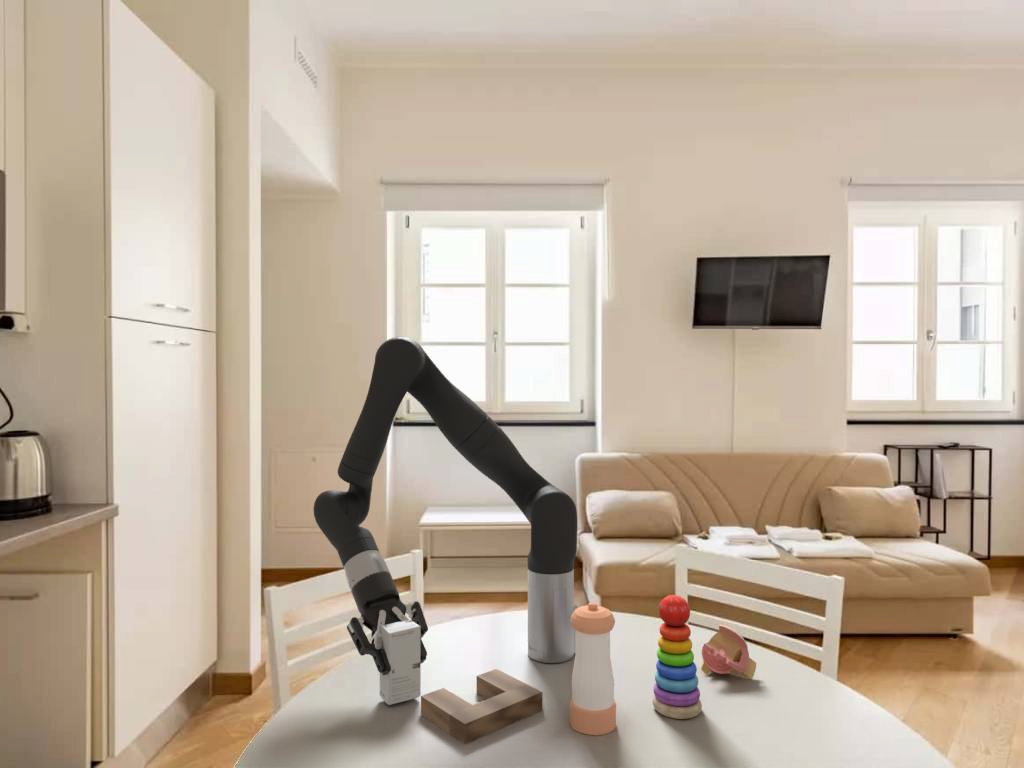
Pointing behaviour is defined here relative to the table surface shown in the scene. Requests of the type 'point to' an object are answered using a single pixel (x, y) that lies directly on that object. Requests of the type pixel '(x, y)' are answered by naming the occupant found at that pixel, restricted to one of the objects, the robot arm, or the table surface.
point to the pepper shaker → (592, 672)
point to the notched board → (482, 706)
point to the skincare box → (401, 661)
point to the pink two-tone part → (727, 654)
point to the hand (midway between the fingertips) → (405, 666)
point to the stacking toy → (676, 663)
